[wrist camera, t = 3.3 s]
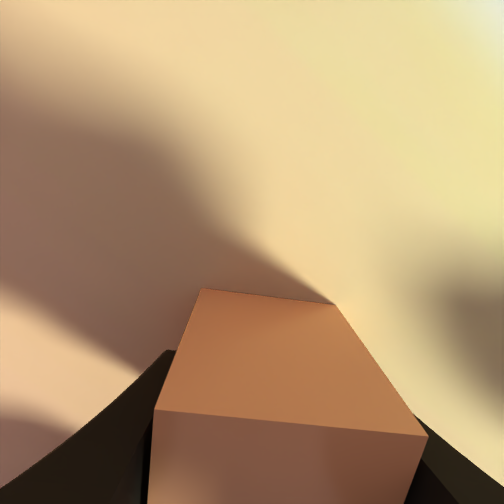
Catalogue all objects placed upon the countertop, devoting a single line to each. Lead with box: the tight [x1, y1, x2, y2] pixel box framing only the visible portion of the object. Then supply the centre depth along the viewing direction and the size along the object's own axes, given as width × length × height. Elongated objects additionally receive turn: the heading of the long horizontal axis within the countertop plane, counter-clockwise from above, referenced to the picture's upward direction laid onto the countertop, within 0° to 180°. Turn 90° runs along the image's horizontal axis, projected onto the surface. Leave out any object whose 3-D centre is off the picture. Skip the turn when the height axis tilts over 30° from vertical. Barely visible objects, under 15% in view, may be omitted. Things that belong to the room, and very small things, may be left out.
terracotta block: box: [147, 288, 429, 504], centre depth 8 cm, size 4×4×5 cm
